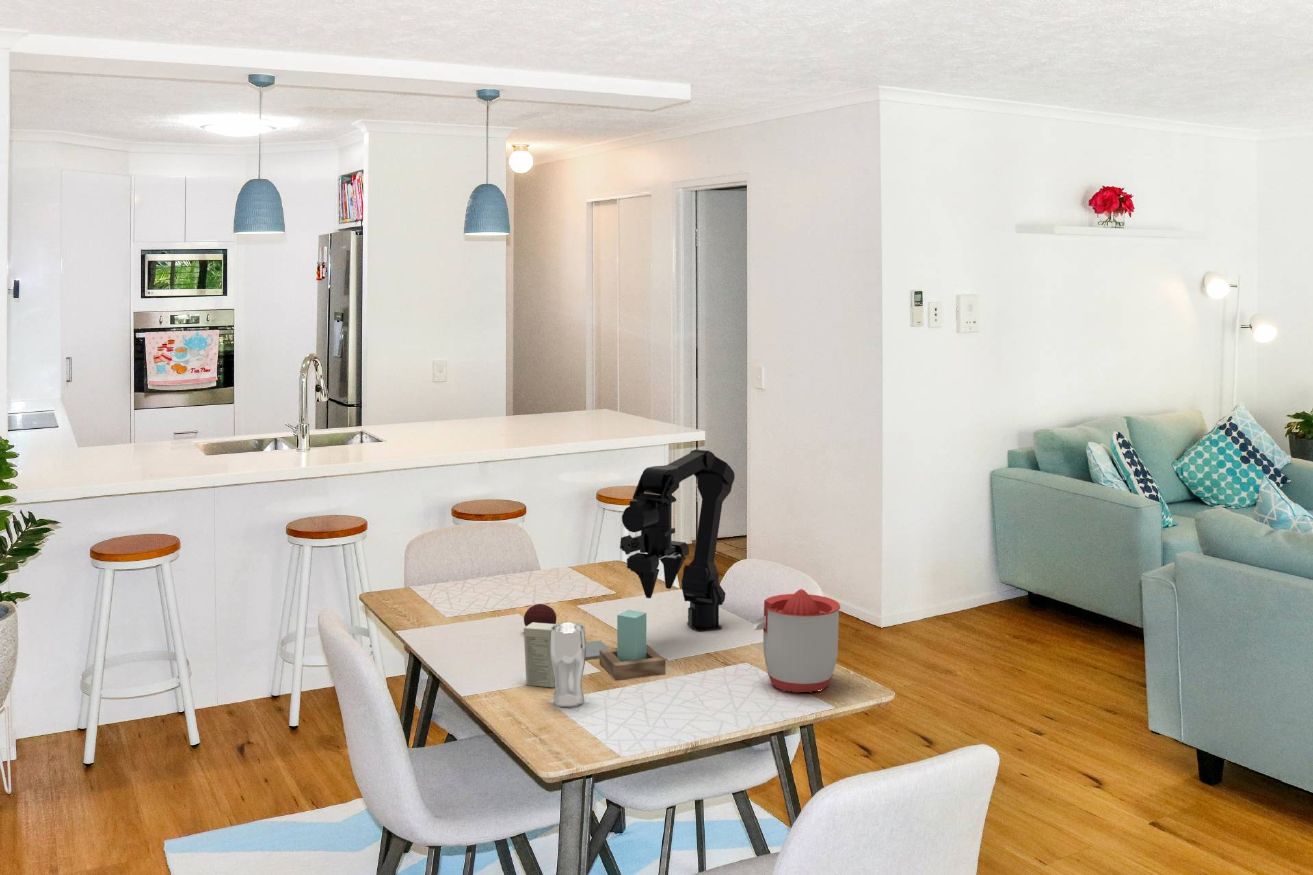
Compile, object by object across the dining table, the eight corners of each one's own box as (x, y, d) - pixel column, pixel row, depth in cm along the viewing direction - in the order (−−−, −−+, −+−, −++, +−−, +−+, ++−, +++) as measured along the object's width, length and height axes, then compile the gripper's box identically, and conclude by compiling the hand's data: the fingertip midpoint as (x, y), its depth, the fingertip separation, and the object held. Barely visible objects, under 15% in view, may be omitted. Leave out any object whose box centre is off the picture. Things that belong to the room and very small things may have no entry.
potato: (551, 639, 256) (551, 609, 255) (519, 637, 257) (519, 607, 256) (560, 629, 263) (560, 601, 262) (529, 627, 264) (529, 599, 263)
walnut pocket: (647, 657, 242) (647, 644, 242) (665, 673, 232) (665, 659, 232) (599, 663, 239) (599, 650, 238) (615, 679, 228) (615, 665, 228)
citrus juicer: (750, 671, 234) (751, 578, 231) (833, 671, 233) (835, 579, 231) (755, 697, 218) (756, 599, 216) (843, 698, 218) (845, 599, 215)
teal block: (628, 663, 238) (628, 609, 237) (646, 667, 236) (646, 612, 235) (617, 669, 235) (617, 614, 233) (635, 673, 232) (635, 618, 231)
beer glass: (551, 696, 219) (549, 622, 217) (586, 694, 220) (585, 621, 218) (550, 708, 212) (549, 633, 210) (586, 707, 213) (586, 632, 211)
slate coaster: (600, 642, 253) (600, 640, 253) (614, 656, 243) (614, 653, 243) (558, 647, 249) (558, 645, 249) (570, 661, 240) (570, 658, 240)
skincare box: (561, 681, 228) (561, 623, 226) (553, 688, 223) (552, 629, 222) (533, 677, 230) (532, 620, 228) (524, 684, 226) (523, 626, 224)
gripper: (647, 514, 257) (647, 579, 259) (605, 528, 240) (605, 598, 242) (690, 518, 251) (690, 585, 253) (650, 533, 235) (650, 605, 237)
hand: (658, 593), depth 247 cm, fingers open, 9 cm apart
